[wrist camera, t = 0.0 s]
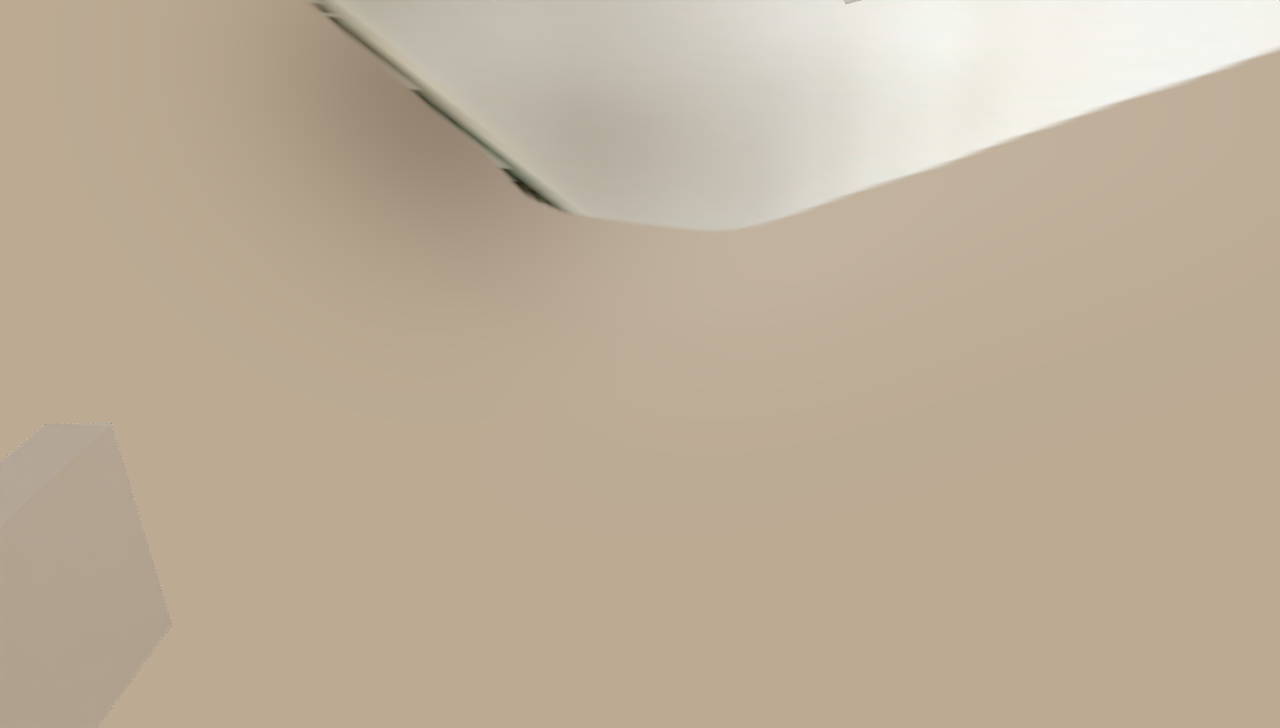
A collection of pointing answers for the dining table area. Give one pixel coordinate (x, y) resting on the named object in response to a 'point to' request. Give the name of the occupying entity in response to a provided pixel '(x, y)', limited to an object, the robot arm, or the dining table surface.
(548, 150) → the dining table surface
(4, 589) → the robot arm
